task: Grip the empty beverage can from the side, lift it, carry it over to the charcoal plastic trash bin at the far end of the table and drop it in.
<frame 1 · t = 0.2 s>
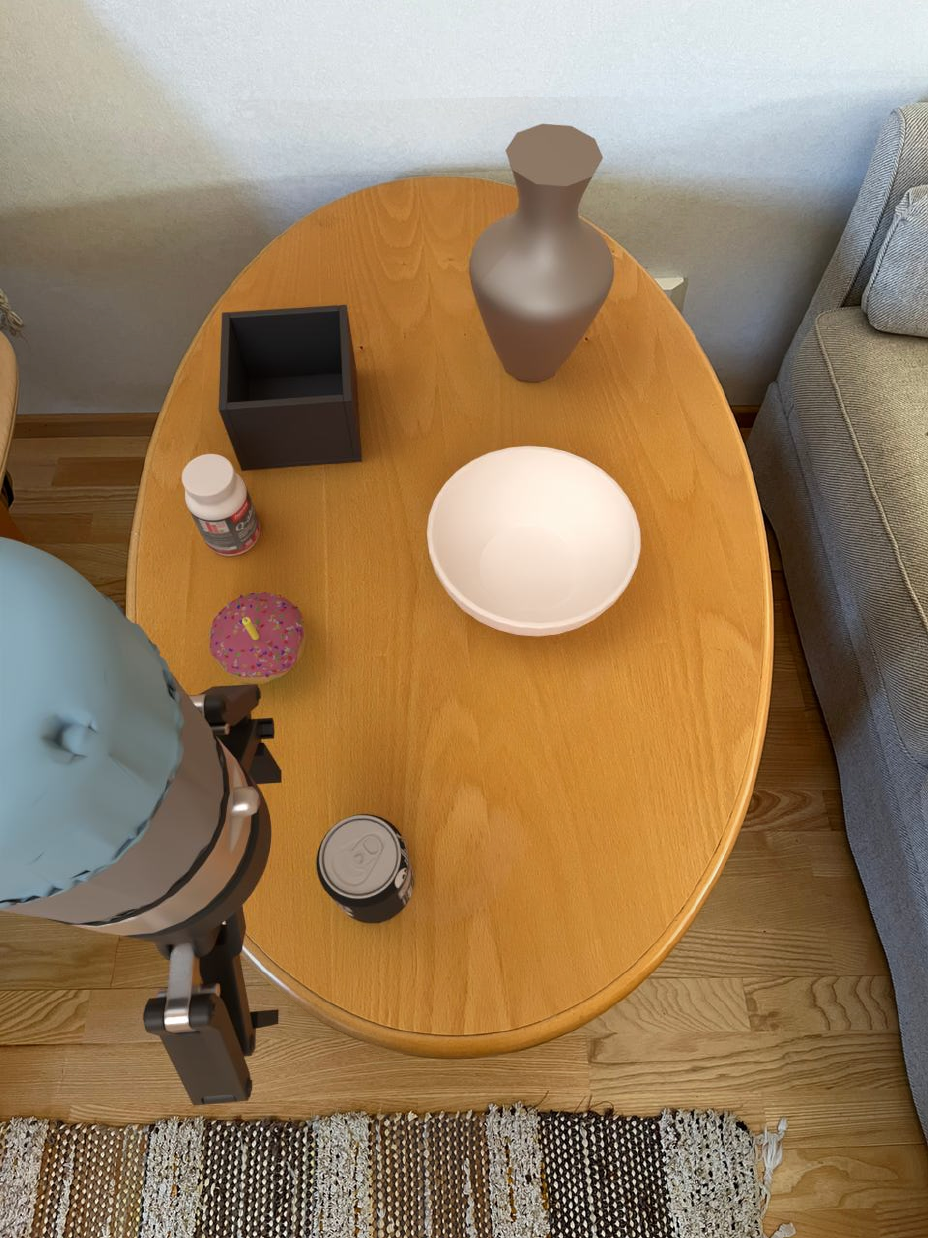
hand: (257, 892, 50), 20 cm above the table, tool pointing down, fingers open, 13 cm apart
vase: (530, 361, 95), on the table
pill bottle: (233, 534, 85), on the table
cupcake: (268, 657, 79), on the table
beverage can: (375, 883, 70), on the table
bowl: (527, 570, 83), on the table
trash bin: (301, 418, 91), on the table
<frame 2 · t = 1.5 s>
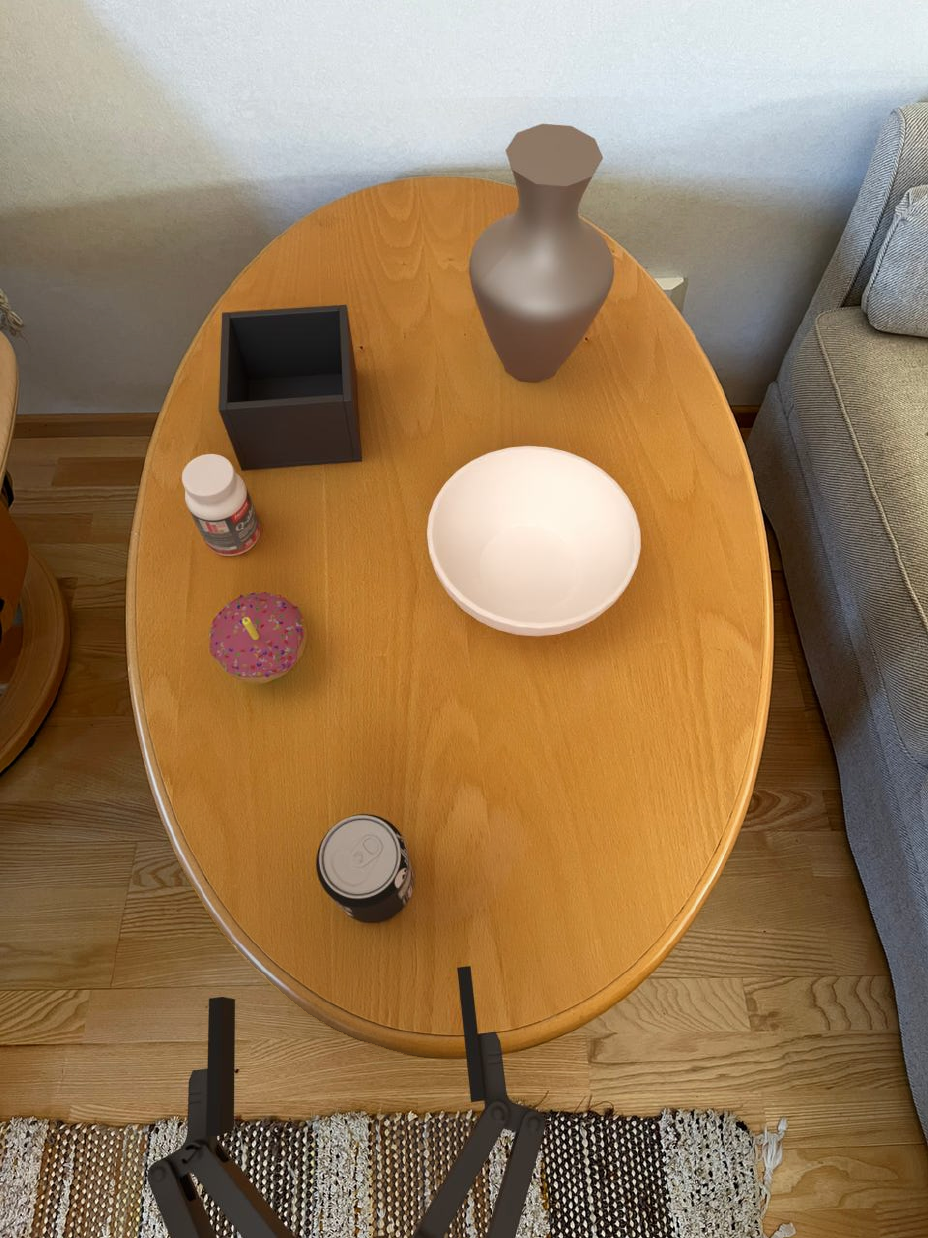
hand: (343, 982, 47), 21 cm above the table, tool horizontal, fingers open, 13 cm apart
nothing on the table moved.
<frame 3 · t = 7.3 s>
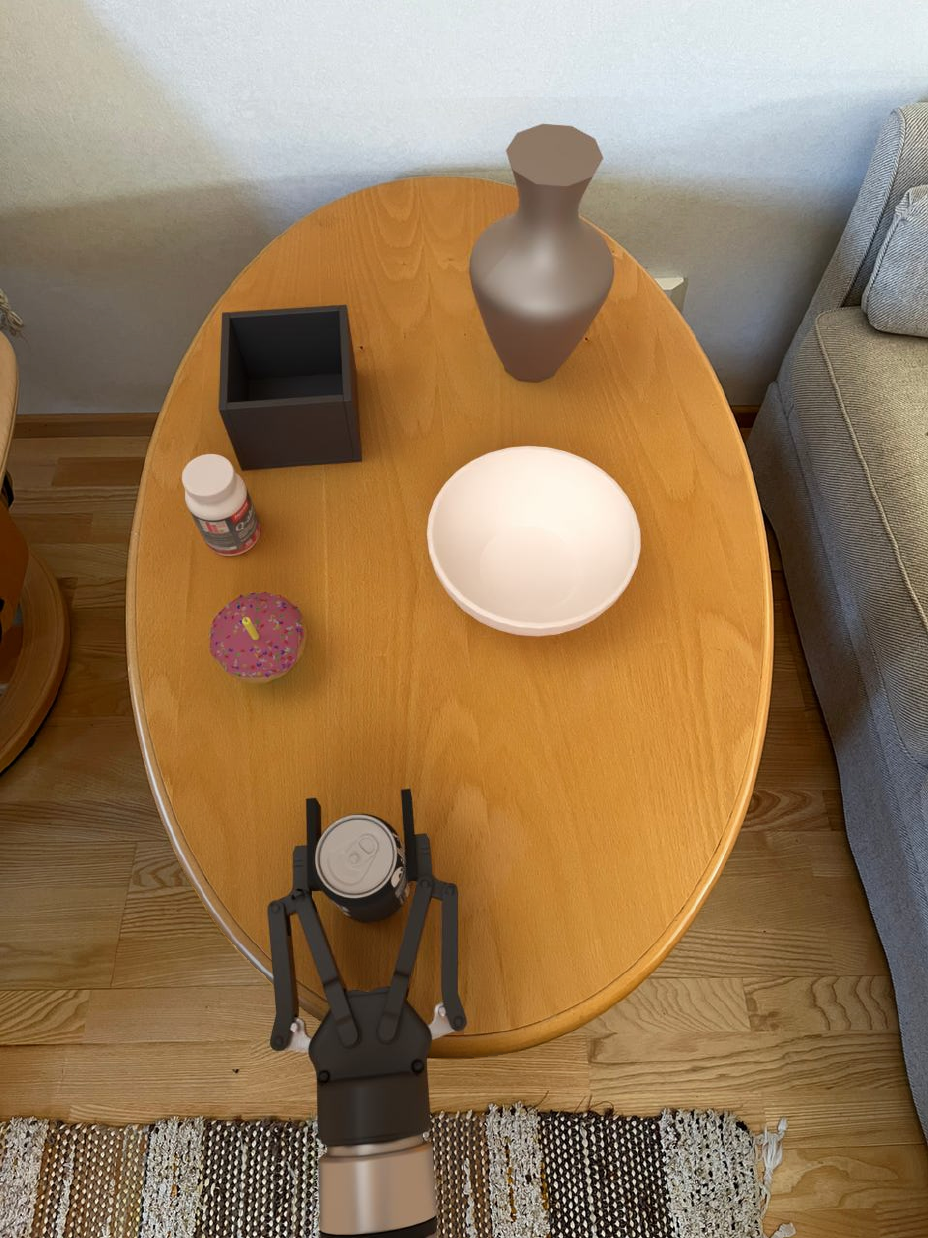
hand: (360, 798, 66), 7 cm above the table, tool horizontal, fingers closed on beverage can, 7 cm apart
beverage can: (372, 883, 70), on the table, touching gripper
everything else where it was.
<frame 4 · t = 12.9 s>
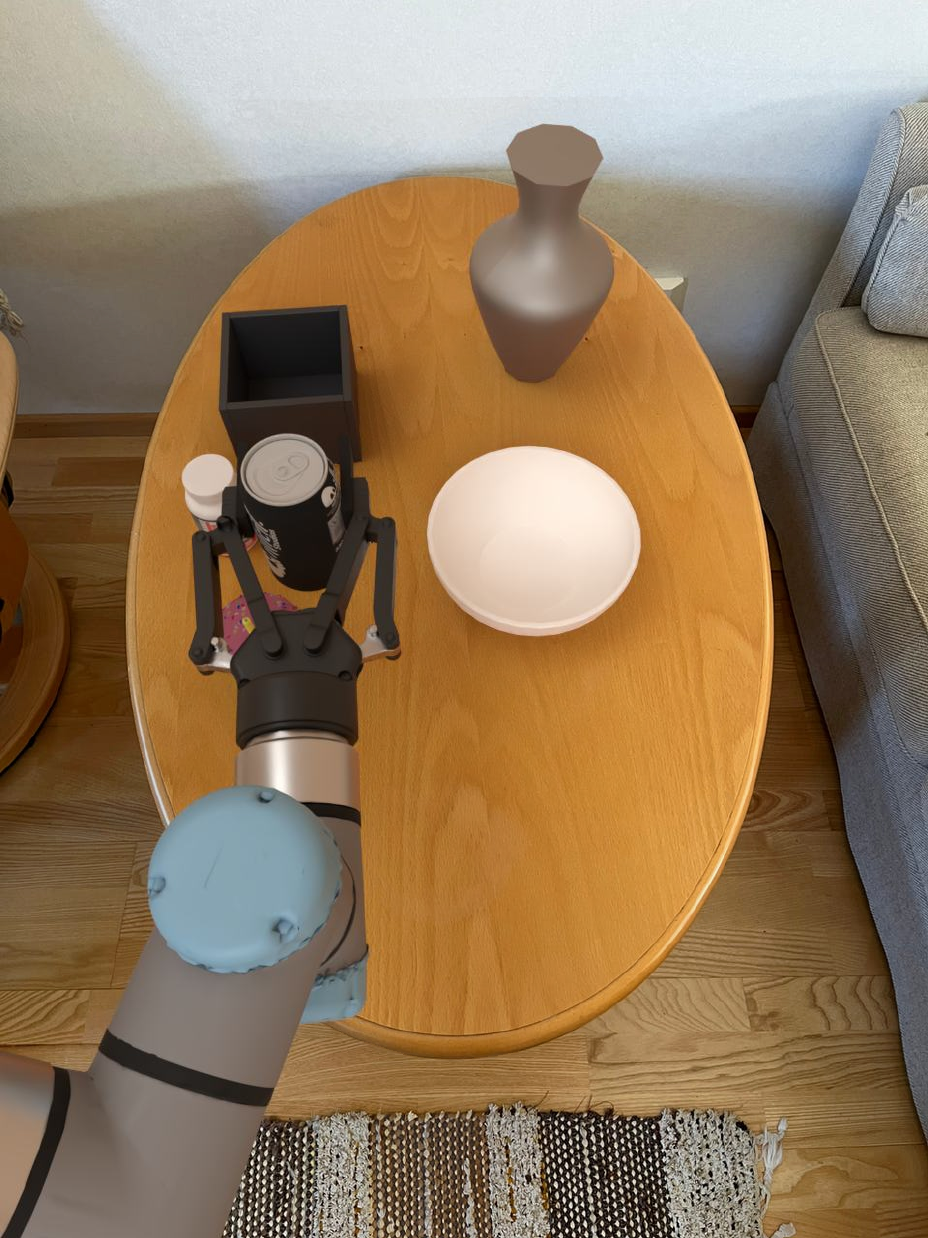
hand: (296, 450, 62), 22 cm above the table, tool horizontal, fingers closed on beverage can, 7 cm apart
beverage can: (312, 561, 66), point 15 cm above the table, touching gripper
everything else where it was.
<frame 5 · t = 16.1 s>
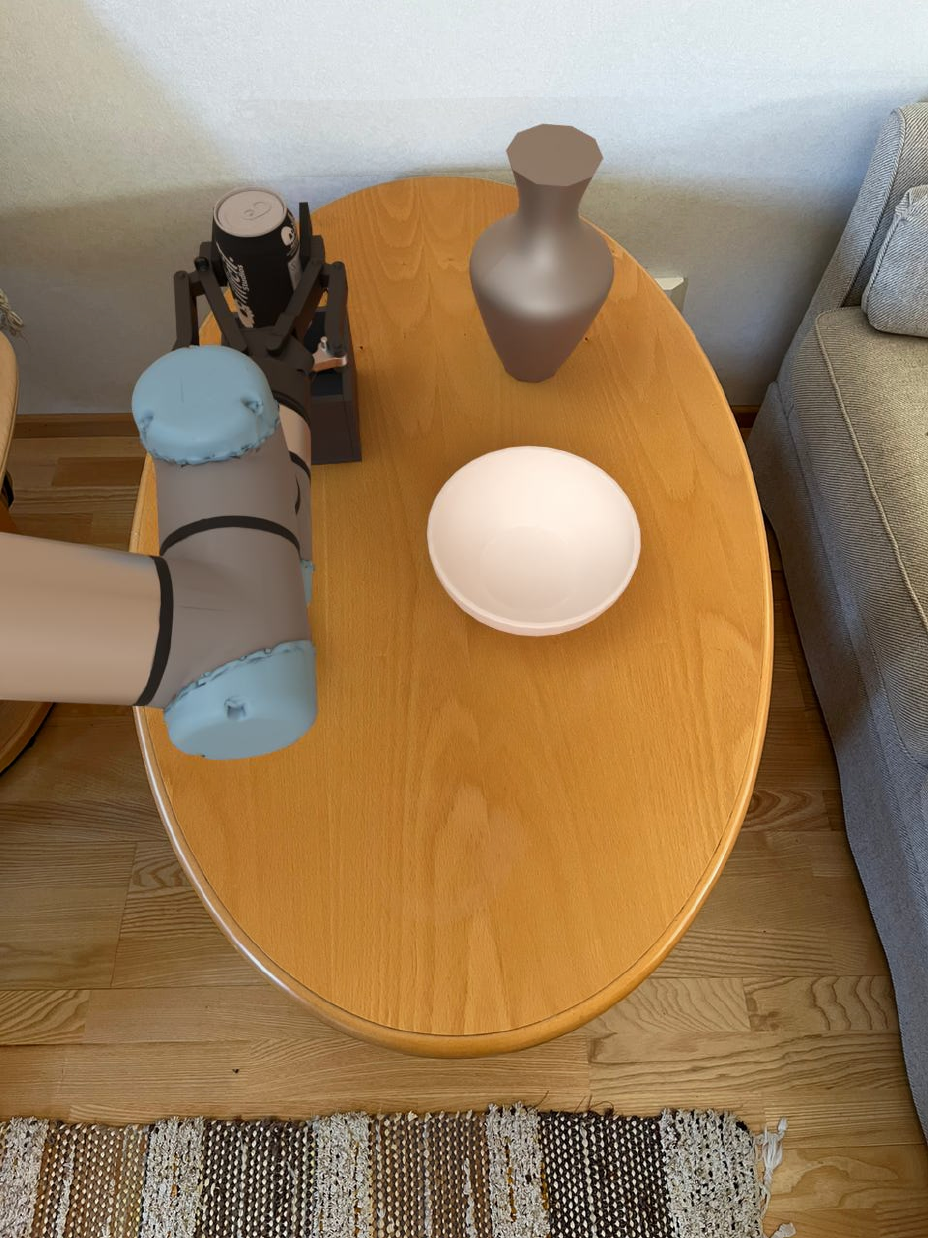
hand: (263, 218, 73), 22 cm above the table, tool horizontal, fingers closed on beverage can, 7 cm apart
beverage can: (279, 325, 77), point 15 cm above the table, touching gripper
everything else where it was.
when the fingers open (15 cm above the table, at t = 18.6 s): beverage can drops 8 cm, resting on trash bin.
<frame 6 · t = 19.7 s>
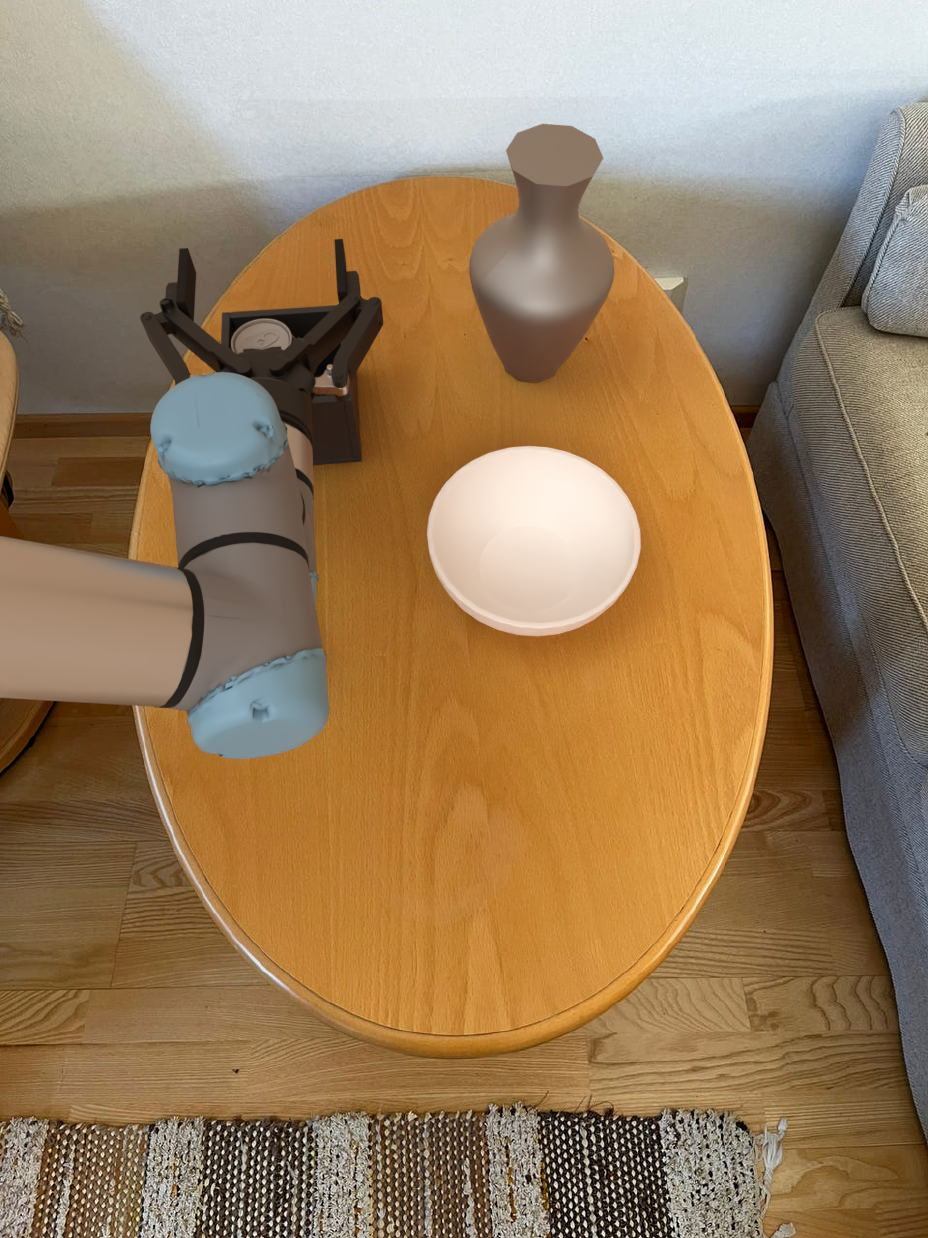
hand: (264, 255, 75), 19 cm above the table, tool horizontal, fingers open, 13 cm apart
beverage can: (288, 427, 90), point 1 cm above the table, touching trash bin
everything else where it was.
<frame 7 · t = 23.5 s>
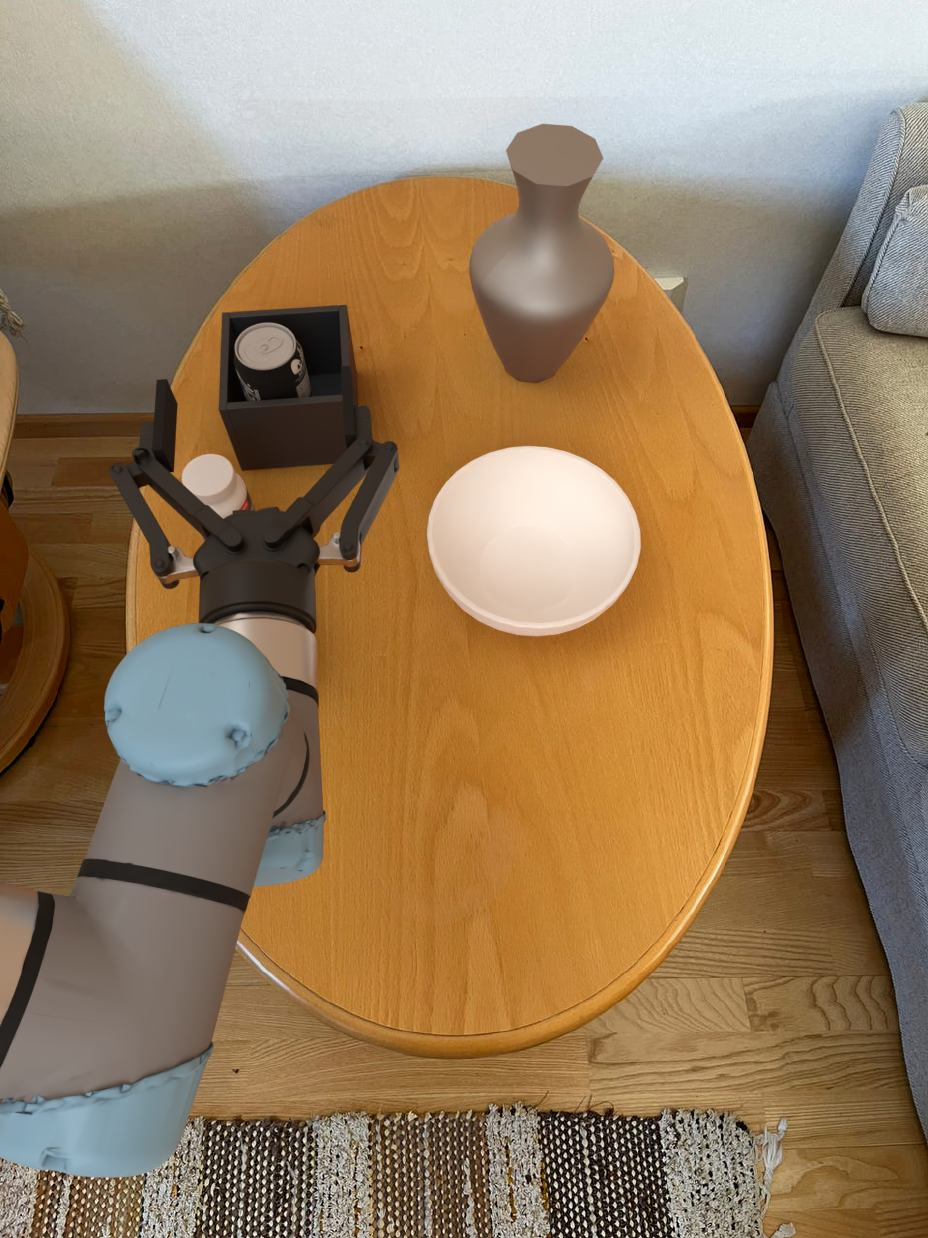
hand: (258, 384, 64), 23 cm above the table, tool horizontal, fingers open, 13 cm apart
nothing on the table moved.
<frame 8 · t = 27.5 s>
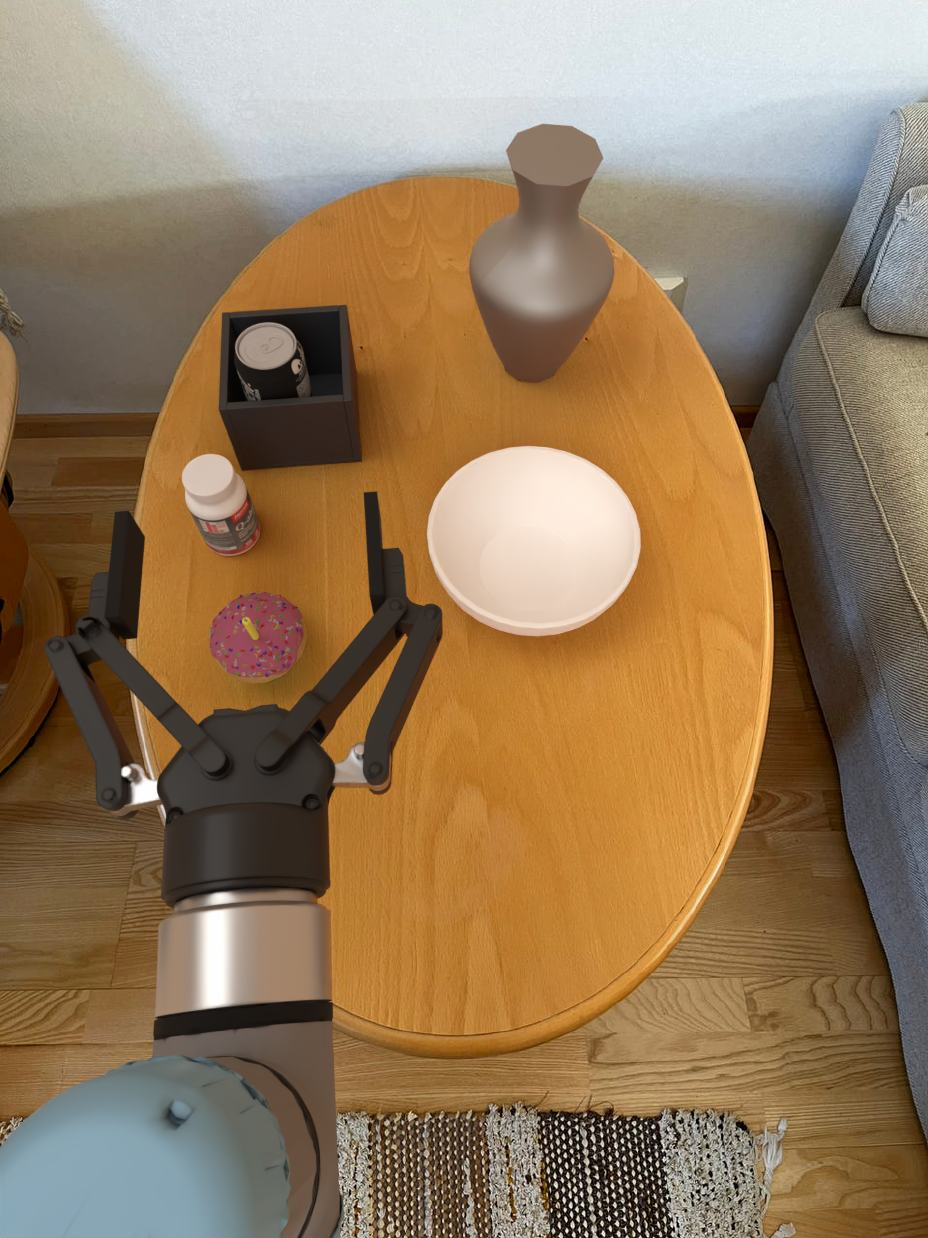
hand: (252, 514, 47), 32 cm above the table, tool horizontal, fingers open, 13 cm apart
nothing on the table moved.
at the end: beverage can inside the target area in the trash bin (2.0 cm from its centre), point 0.4 cm above the trash bin's base; the gripper is holding nothing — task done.
